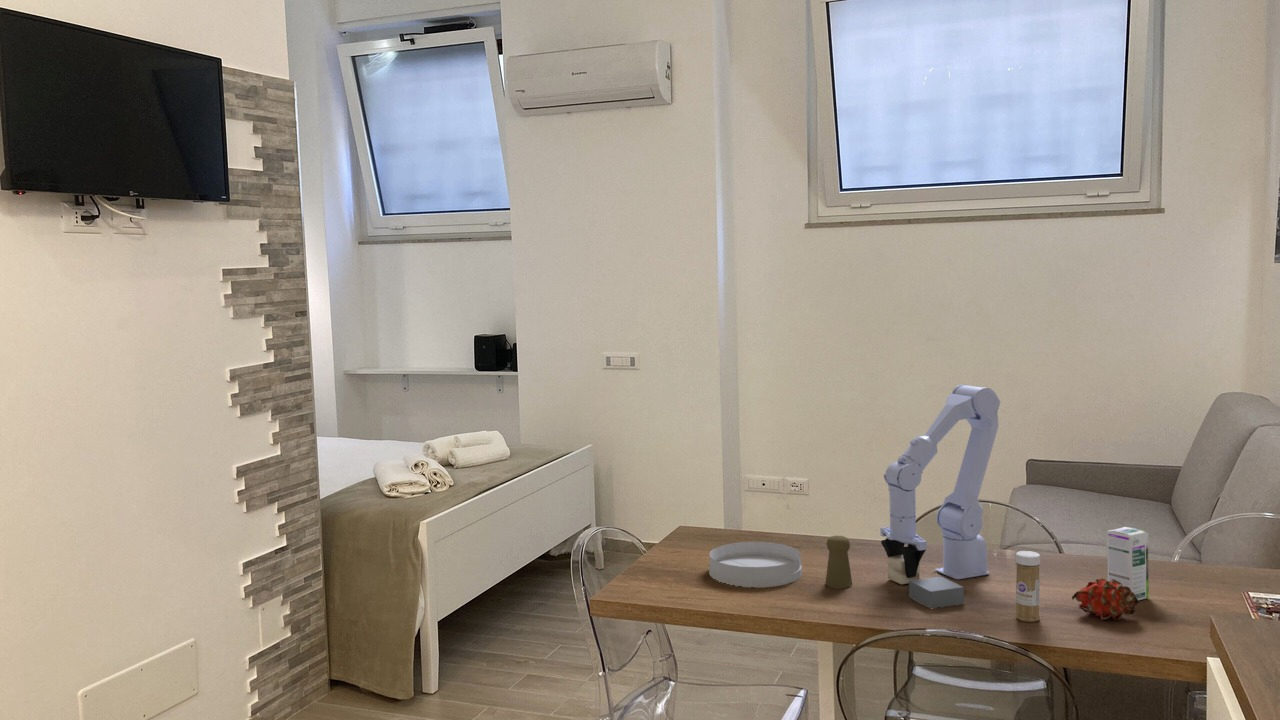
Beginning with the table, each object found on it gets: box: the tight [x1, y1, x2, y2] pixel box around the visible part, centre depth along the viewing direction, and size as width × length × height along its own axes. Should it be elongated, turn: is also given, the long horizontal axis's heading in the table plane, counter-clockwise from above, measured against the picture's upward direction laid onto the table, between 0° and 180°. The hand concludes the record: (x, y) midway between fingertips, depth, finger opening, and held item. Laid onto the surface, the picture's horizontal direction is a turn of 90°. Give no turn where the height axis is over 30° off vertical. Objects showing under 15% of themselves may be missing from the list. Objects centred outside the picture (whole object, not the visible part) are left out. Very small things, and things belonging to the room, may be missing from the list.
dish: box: [708, 541, 803, 589], centre depth 227 cm, size 22×22×5 cm
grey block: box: [908, 575, 965, 609], centre depth 203 cm, size 8×8×4 cm
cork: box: [825, 535, 853, 589], centre depth 216 cm, size 6×6×11 cm
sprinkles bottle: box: [1015, 550, 1041, 623], centre depth 190 cm, size 5×5×13 cm
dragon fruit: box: [1071, 578, 1139, 621], centre depth 190 cm, size 8×8×12 cm
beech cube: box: [887, 555, 921, 585], centre depth 217 cm, size 5×5×5 cm
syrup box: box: [1106, 526, 1150, 601], centre depth 201 cm, size 6×6×14 cm
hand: (903, 573), depth 217 cm, fingers closed on beech cube, 5 cm apart
